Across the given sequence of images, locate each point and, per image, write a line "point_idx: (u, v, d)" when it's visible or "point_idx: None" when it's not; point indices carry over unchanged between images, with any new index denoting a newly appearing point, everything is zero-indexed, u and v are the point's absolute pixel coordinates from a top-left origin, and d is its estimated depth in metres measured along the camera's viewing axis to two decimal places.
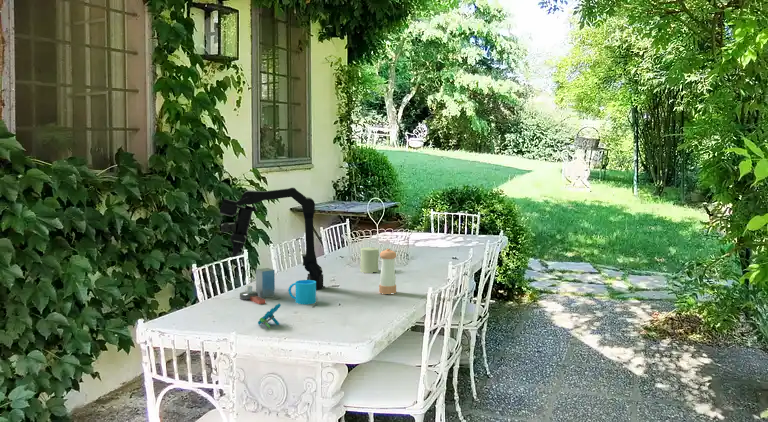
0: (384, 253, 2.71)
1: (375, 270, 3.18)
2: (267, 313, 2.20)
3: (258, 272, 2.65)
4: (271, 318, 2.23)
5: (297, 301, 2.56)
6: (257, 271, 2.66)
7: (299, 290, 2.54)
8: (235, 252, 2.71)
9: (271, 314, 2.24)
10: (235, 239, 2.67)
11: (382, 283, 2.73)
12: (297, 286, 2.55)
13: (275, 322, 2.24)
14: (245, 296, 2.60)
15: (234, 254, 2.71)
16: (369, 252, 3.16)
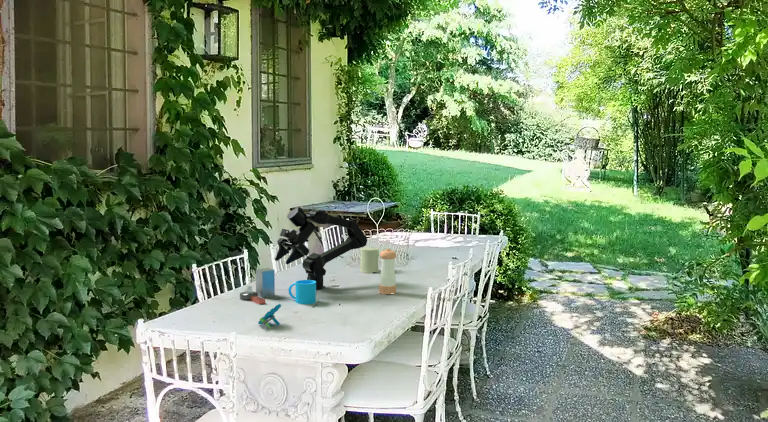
0: (384, 253, 2.71)
1: (375, 270, 3.18)
2: (267, 313, 2.20)
3: (258, 272, 2.65)
4: (271, 318, 2.23)
5: (297, 301, 2.56)
6: (257, 271, 2.66)
7: (299, 290, 2.54)
8: (290, 260, 2.68)
9: (271, 314, 2.24)
10: (302, 249, 2.66)
11: (382, 283, 2.73)
12: (297, 286, 2.55)
13: (275, 322, 2.24)
14: (245, 296, 2.60)
15: (288, 262, 2.68)
16: (369, 252, 3.16)
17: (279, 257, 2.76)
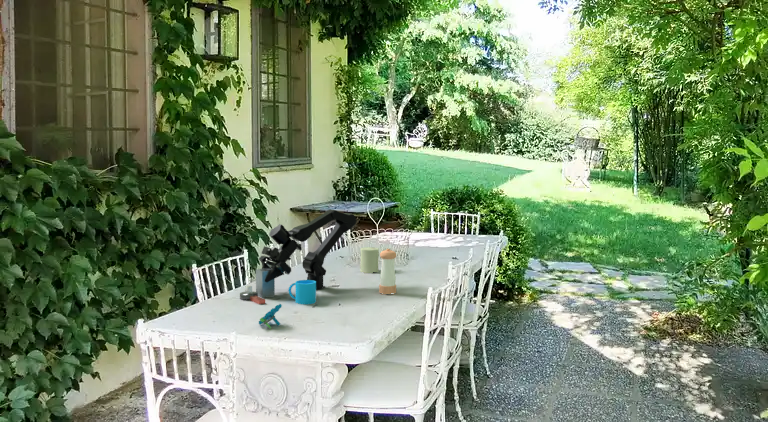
0: (384, 253, 2.71)
1: (375, 270, 3.18)
2: (267, 313, 2.20)
3: (258, 272, 2.65)
4: (272, 318, 2.23)
5: (297, 301, 2.56)
6: (257, 271, 2.66)
7: (299, 290, 2.54)
8: (269, 278, 2.64)
9: (272, 314, 2.24)
10: (283, 267, 2.61)
11: (382, 283, 2.73)
12: (297, 286, 2.55)
13: (276, 322, 2.24)
14: (245, 296, 2.60)
15: (267, 280, 2.64)
16: (369, 252, 3.16)
17: None
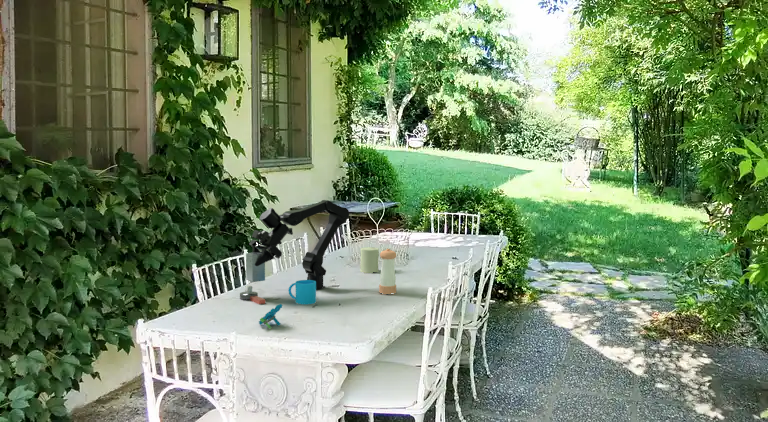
0: (384, 253, 2.71)
1: (375, 270, 3.18)
2: (267, 313, 2.20)
3: (248, 256, 2.62)
4: (272, 318, 2.23)
5: (297, 301, 2.56)
6: (247, 255, 2.63)
7: (299, 290, 2.54)
8: (259, 262, 2.61)
9: (272, 314, 2.24)
10: (274, 251, 2.58)
11: (382, 283, 2.73)
12: (297, 286, 2.55)
13: (276, 322, 2.24)
14: (245, 296, 2.60)
15: (257, 264, 2.61)
16: (369, 252, 3.16)
17: None
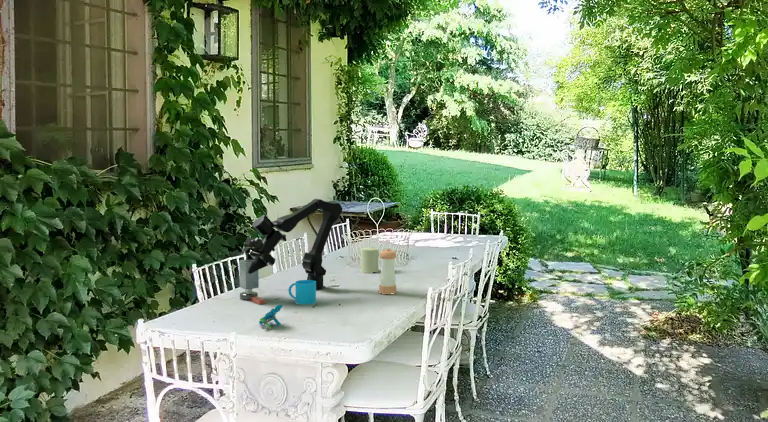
0: (384, 253, 2.71)
1: (375, 270, 3.18)
2: (267, 313, 2.20)
3: (241, 263, 2.60)
4: (272, 318, 2.23)
5: (297, 301, 2.56)
6: (240, 262, 2.61)
7: (299, 290, 2.54)
8: (253, 270, 2.59)
9: (272, 314, 2.24)
10: (267, 258, 2.56)
11: (382, 283, 2.73)
12: (297, 286, 2.55)
13: (276, 322, 2.24)
14: (245, 296, 2.60)
15: (251, 271, 2.59)
16: (369, 252, 3.16)
17: None
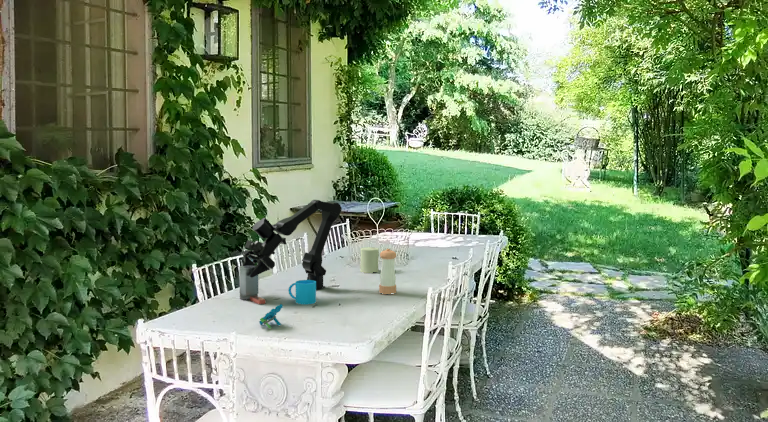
0: (384, 253, 2.71)
1: (375, 270, 3.18)
2: (267, 313, 2.20)
3: (241, 269, 2.61)
4: (272, 318, 2.23)
5: (297, 301, 2.56)
6: (240, 268, 2.61)
7: (299, 290, 2.54)
8: (254, 274, 2.58)
9: (273, 314, 2.24)
10: (267, 262, 2.56)
11: (382, 283, 2.73)
12: (297, 286, 2.55)
13: (276, 322, 2.24)
14: (245, 296, 2.60)
15: (252, 275, 2.58)
16: (369, 252, 3.16)
17: None
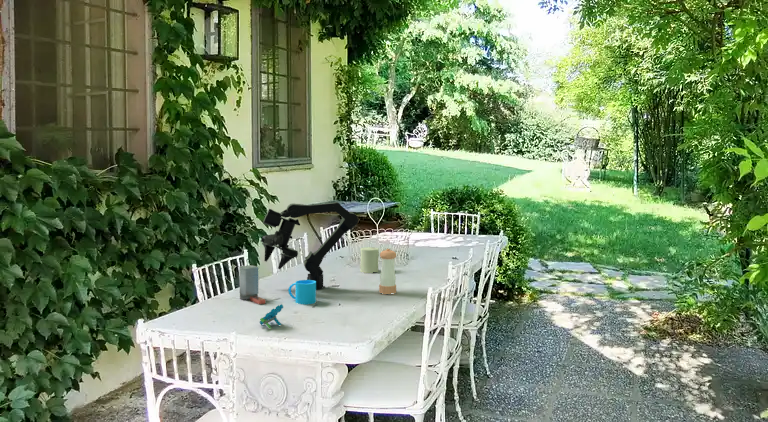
0: (384, 253, 2.71)
1: (375, 270, 3.18)
2: (268, 313, 2.20)
3: (241, 269, 2.61)
4: (272, 319, 2.23)
5: (297, 301, 2.56)
6: (240, 268, 2.61)
7: (299, 290, 2.54)
8: (282, 265, 2.75)
9: (273, 314, 2.24)
10: (291, 255, 2.72)
11: (382, 283, 2.73)
12: (297, 286, 2.55)
13: (277, 323, 2.23)
14: (245, 296, 2.60)
15: (280, 267, 2.75)
16: (369, 252, 3.16)
17: (268, 257, 2.81)
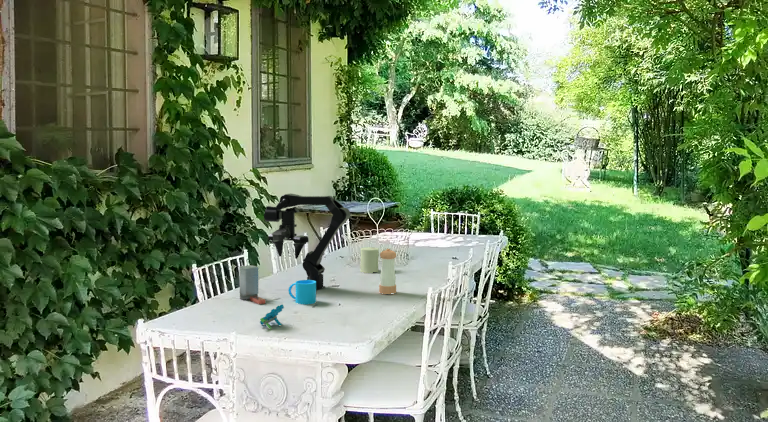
0: (384, 253, 2.71)
1: (375, 270, 3.18)
2: (268, 313, 2.20)
3: (241, 269, 2.61)
4: (273, 319, 2.22)
5: (297, 301, 2.56)
6: (240, 268, 2.61)
7: (299, 290, 2.54)
8: (298, 254, 2.82)
9: (273, 315, 2.24)
10: (303, 241, 2.78)
11: (382, 283, 2.73)
12: (297, 286, 2.55)
13: (277, 323, 2.23)
14: (245, 296, 2.60)
15: (297, 256, 2.82)
16: (369, 252, 3.16)
17: (281, 251, 2.87)
